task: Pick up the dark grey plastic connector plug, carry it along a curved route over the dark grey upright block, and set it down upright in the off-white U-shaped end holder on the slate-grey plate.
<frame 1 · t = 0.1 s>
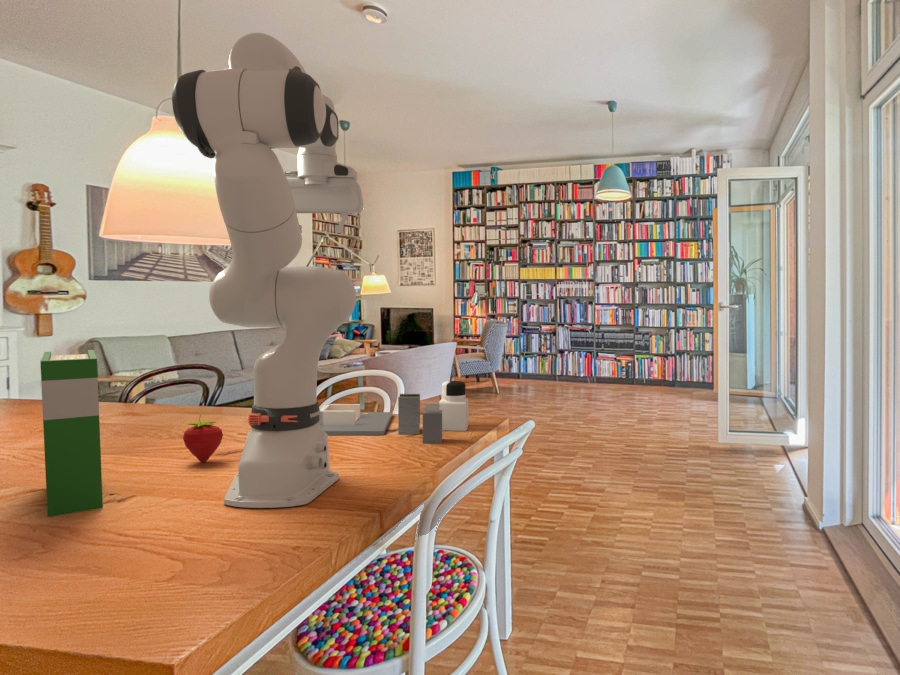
hand: (318, 233, 141), 48 cm above the table, tool pointing down, fingers open, 8 cm apart
connector plug: (432, 441, 143), on the table
hardback book: (75, 497, 104), on the table
dark grey upright block: (409, 431, 153), on the table
end holder: (342, 424, 161), on the table
strawberry: (203, 463, 125), on the table
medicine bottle: (453, 428, 157), on the table
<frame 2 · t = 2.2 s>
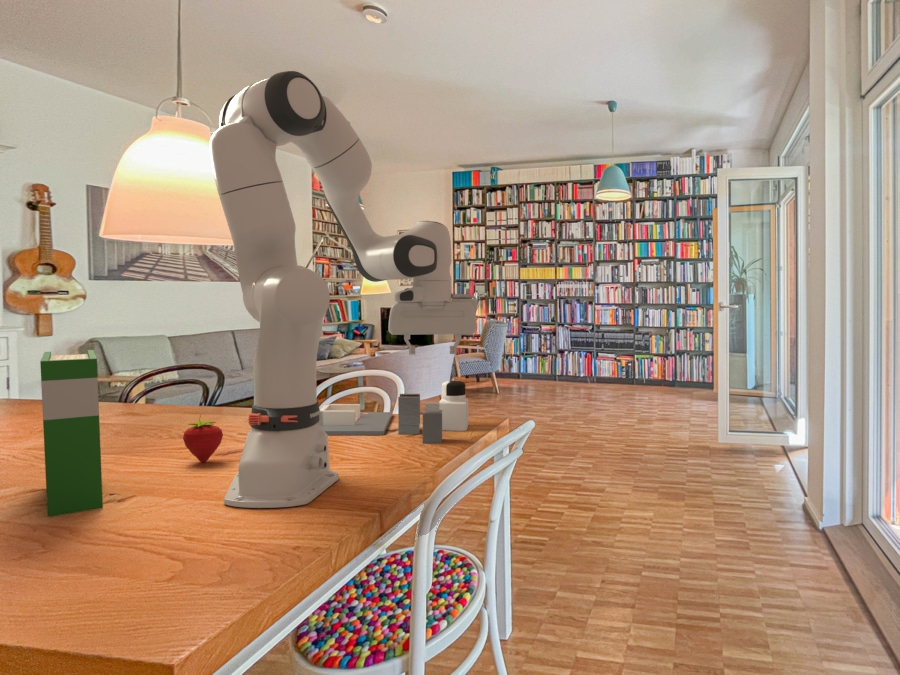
hand: (432, 354, 142), 20 cm above the table, tool pointing down, fingers open, 8 cm apart
nothing on the table moved.
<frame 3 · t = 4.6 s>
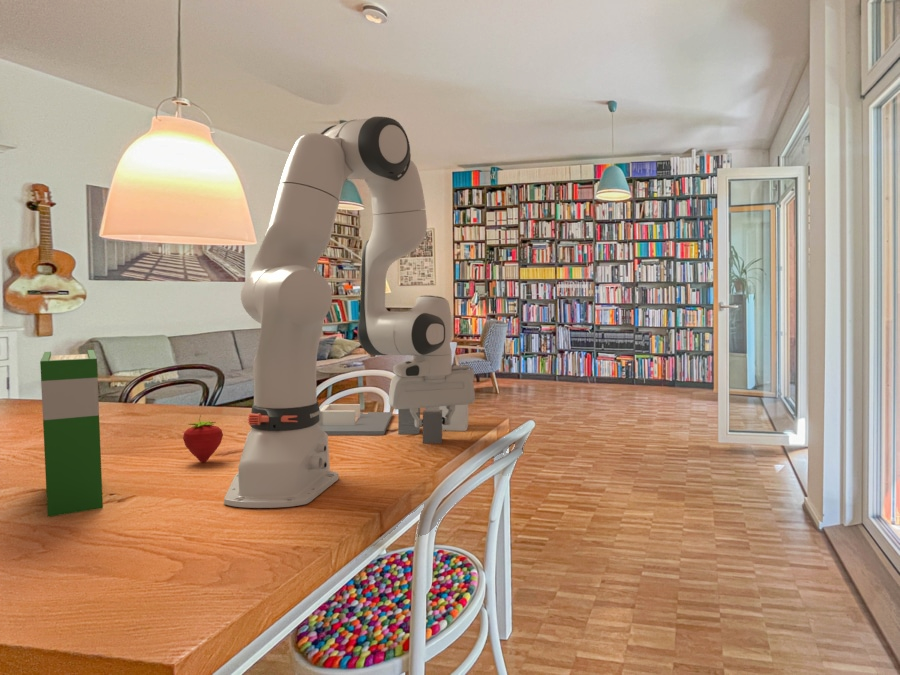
hand: (432, 425, 143), 4 cm above the table, tool pointing down, fingers closed on connector plug, 5 cm apart
connector plug: (432, 441, 143), on the table, touching gripper
everything else where it was.
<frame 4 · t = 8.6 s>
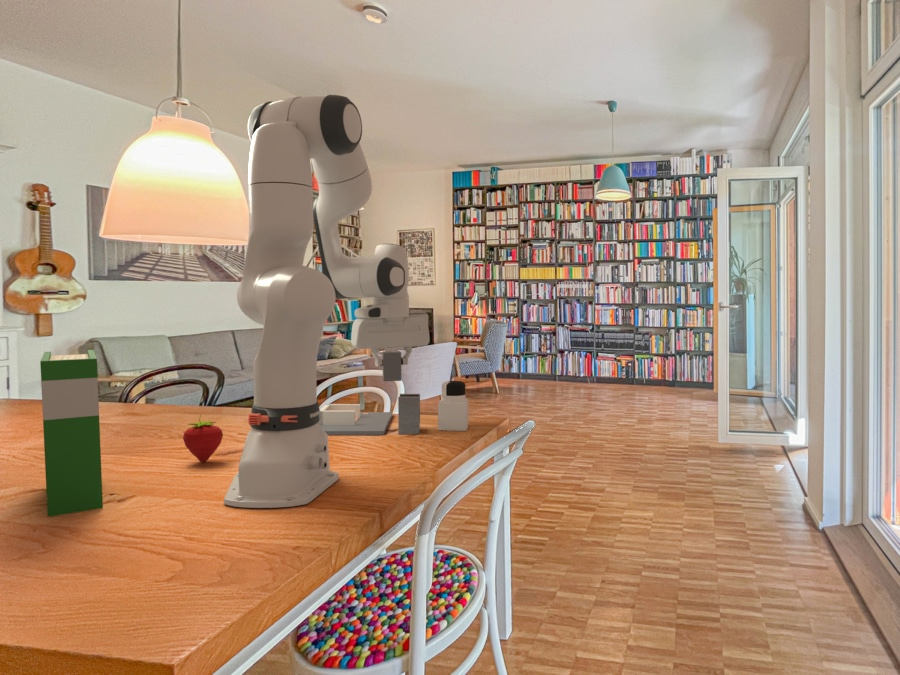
hand: (391, 365, 155), 16 cm above the table, tool pointing down, fingers closed on connector plug, 5 cm apart
connector plug: (391, 379, 155), point 13 cm above the table, touching gripper
everything else where it was.
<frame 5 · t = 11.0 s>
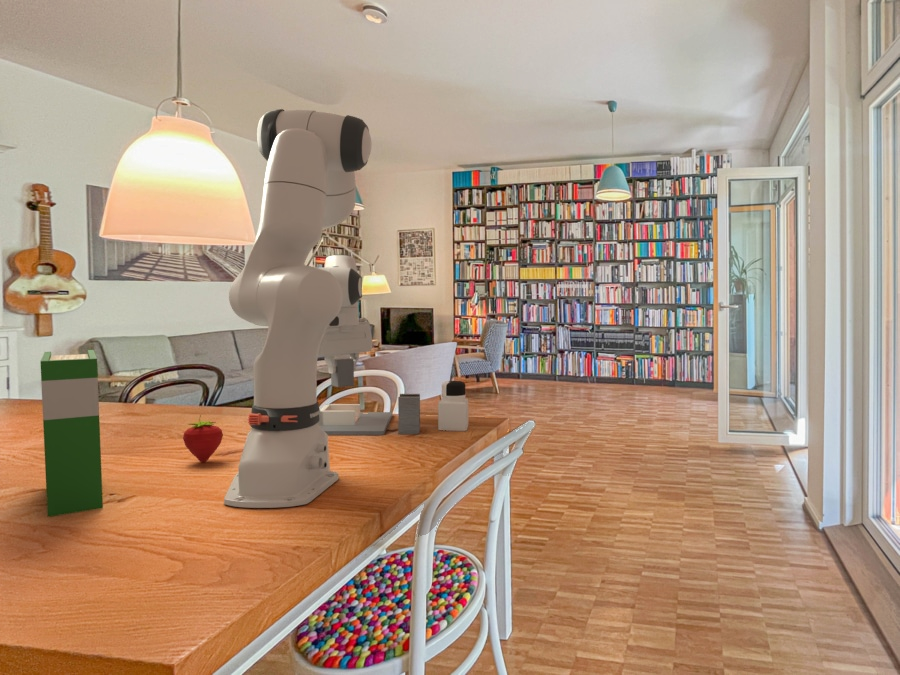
hand: (342, 371, 160), 14 cm above the table, tool pointing down, fingers closed on connector plug, 5 cm apart
connector plug: (342, 385, 161), point 10 cm above the table, touching gripper
everything else where it was.
when the fingers open (6 cm above the table, at t = 13.0 s): connector plug drops 1 cm, resting on end holder.
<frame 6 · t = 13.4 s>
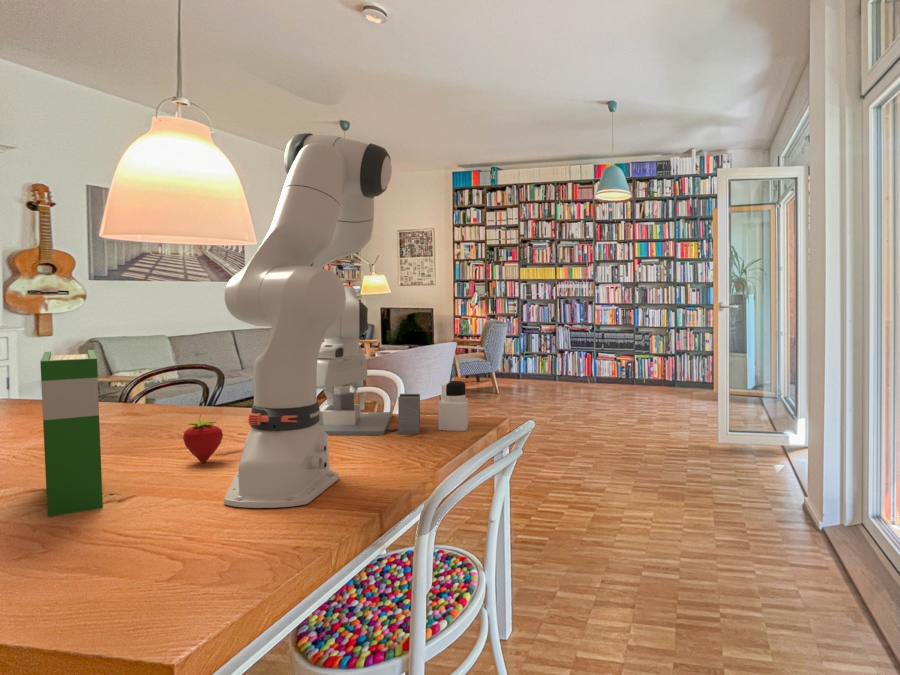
hand: (342, 401, 161), 6 cm above the table, tool pointing down, fingers open, 8 cm apart
connector plug: (342, 420, 161), point 1 cm above the table, touching end holder
everything else where it was.
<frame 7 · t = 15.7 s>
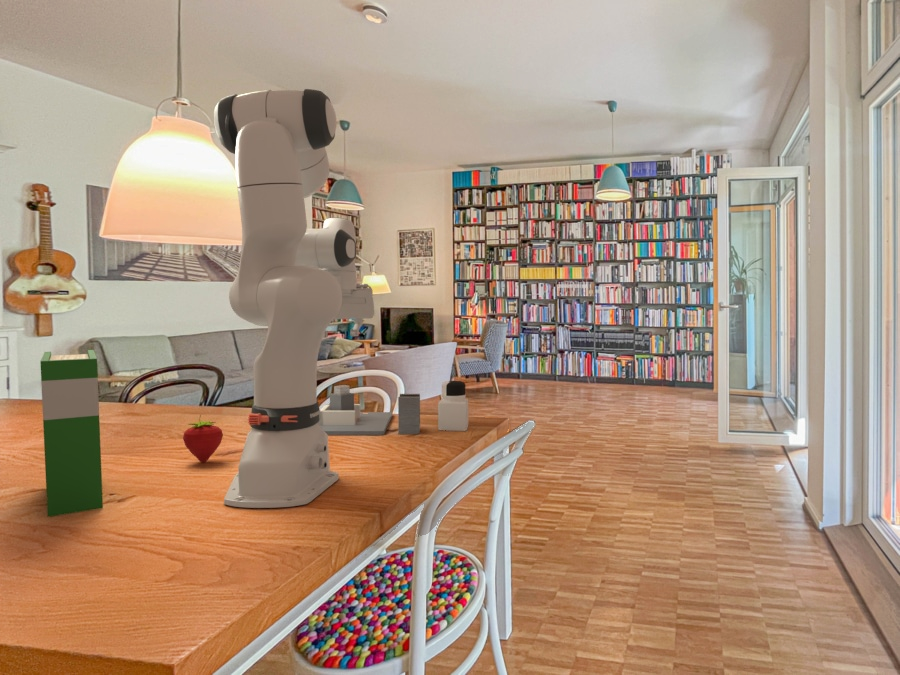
hand: (339, 336, 159), 23 cm above the table, tool pointing down, fingers open, 8 cm apart
nothing on the table moved.
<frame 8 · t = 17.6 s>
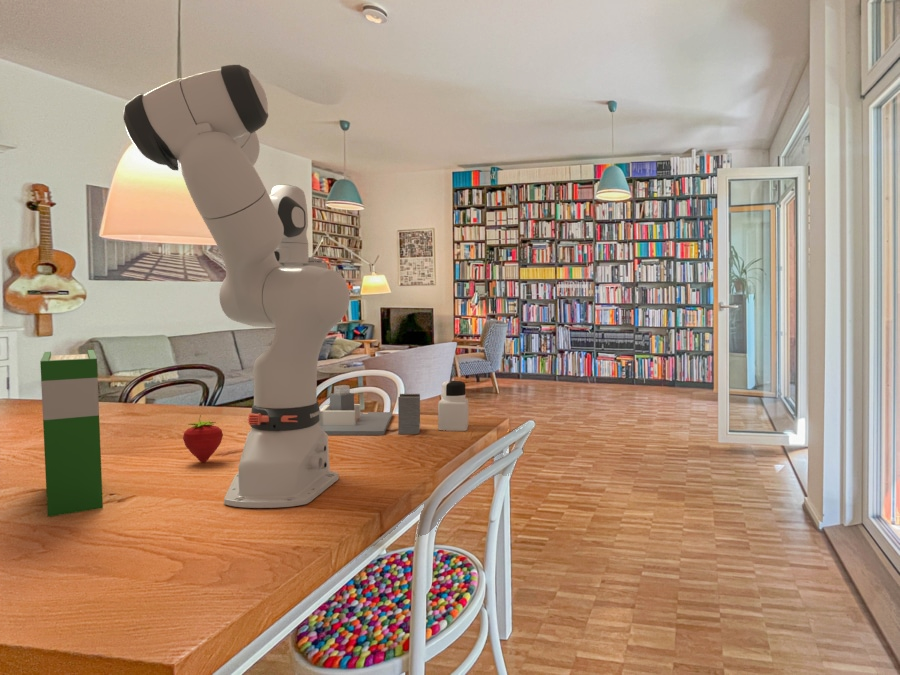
hand: (290, 314, 147), 29 cm above the table, tool pointing down, fingers open, 8 cm apart
nothing on the table moved.
at the end: connector plug 0.3 cm off-centre on the end holder, point 1.2 cm above the end holder's base; connector plug tilted 0°; the gripper is holding nothing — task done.
